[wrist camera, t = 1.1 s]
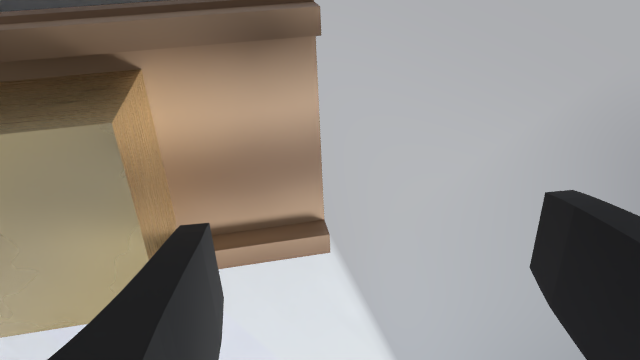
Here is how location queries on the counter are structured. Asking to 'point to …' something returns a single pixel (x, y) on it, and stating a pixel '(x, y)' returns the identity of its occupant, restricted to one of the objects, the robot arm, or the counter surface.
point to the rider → (76, 196)
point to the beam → (207, 107)
